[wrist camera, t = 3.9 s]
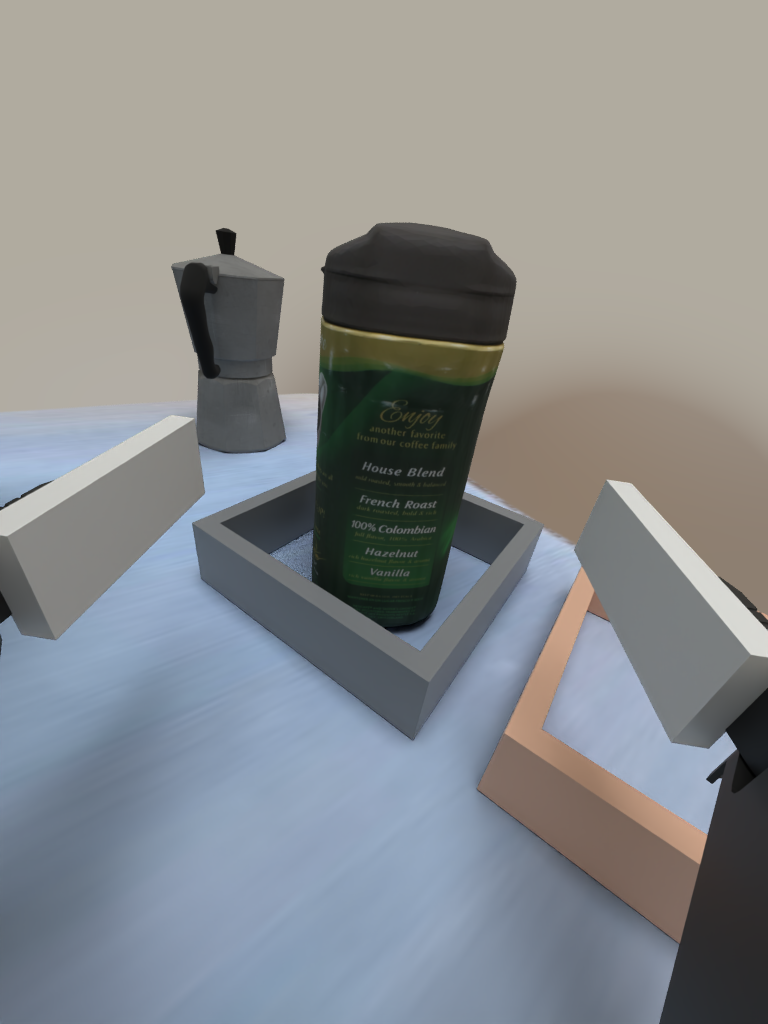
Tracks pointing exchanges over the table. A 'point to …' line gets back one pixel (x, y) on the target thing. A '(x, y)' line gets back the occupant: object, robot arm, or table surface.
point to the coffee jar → (401, 409)
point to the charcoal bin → (341, 629)
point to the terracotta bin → (591, 794)
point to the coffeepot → (233, 348)
